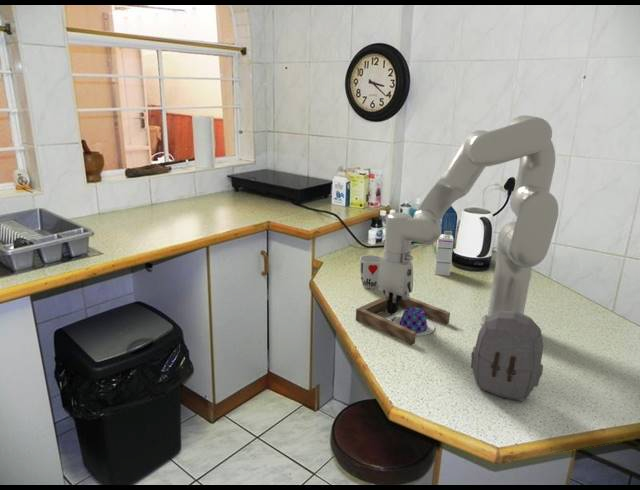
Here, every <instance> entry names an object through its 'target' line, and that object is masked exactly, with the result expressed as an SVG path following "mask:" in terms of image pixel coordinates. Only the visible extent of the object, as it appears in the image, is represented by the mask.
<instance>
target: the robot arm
mask: <svg viewBox="0 0 640 490" xmlns="http://www.w3.org/2000/svg"><path fill="white" fill-rule="evenodd" d="M552 137H553V129H552V127H551V125H550V123H549V122H548V121H547V120H546V119H544V118H542V117H539V116H532V115H528V114H527V115H525V114H523V115H519V116H516V117H514V118H513V119H511V120H510V122H508V125H507V126H504V127H503V126H502V127H500V128H496V129H494V130H493V129H492V130H488V131H487V130H482V129H480V130H479V129H478V130H475V131H473V132H471V133H469V134H468V136H466V138H465V139H464V141H462V143H461V145H460V146H459V148H458V150H457V151H456V153H455V155H454V156H453V157H452V160H451V161H450V162H449V164H448V165H447V167H446V168H445V170H444V172H443V174H441V176H440V178H439V179H438V180H437V181H436V183H435V184H434V185H433V186H432V188H431V189H430V190H429V192H428V193H427V194H426V195H425V197H424V198H423V200H422V202H421V203H420V205H419V207H418V208H417V210H416V211H415V213H414V215H413V216H412V215H410V214H409V213H406V212H392V213H388V215H387V216H386V222H385V231H384V232H385V233H384V247H383V248H384V249H383V257H382V260H381V263H380V267H379V273H378V285H377V287H378V290H379V291H380V292H381V293H383V295H384V297H385V296H386V300H387V310H386V314H389V315H391V316H392V315H394V314H396V313H398V311H399V306H398V303H399V301H400V300H408V299H409V298H411V297H410V293H413V287H414V268H413V262H412V261H413V260H414V256H413V255H411V248H412V247H411V246H412V242H414V243H419V244H425V245H430V244H433V243H434V242H436V241H437V240H438V239H439V238H440V236H441V227H440V224H439V221H440V220H441V218H442V217H443V215H444V214H445V212H446V211H447V209H448V208H449V207H450V206H451V205H452V206H453V204H454V202H456V201H457V200H459V199H462V198H463V197H465V196H466V195H468V194H469V192H470V191H471V189H472V188H473V187H474V185H475V183H476V182H477V180H478V179H479V177H480V176H481V175H482V173H483V171H484V170H485V169H486V168H487V167H492V166H497V165H500V164H501V165H502V164H505V163H508V162H511V161H514V160H517V159H519V166H518V172H517V176H516V180H515V184H514V188H513V192H512V194H511V195H512V196H511V198H510V209H511V211H512V213H513V214H514V215H515V216H516V220H515V221H510V222H508V223H507V224H504V226H503V227H502V228H501V229H500V231H499V232H498V235H497V242H496V260H495V267H494V274H493V278H492V287H491V292H490V293H491V294H490V300H489V306H488V311H487V312H488V313H487V314H484V315H483V316H482V317H481V320H480V321H481V322H480V323H481V326H483V324H484V322H485V319H486V318H487V317H489V316H491V315H494V314H496V313H498V312H500V311H517V312H519V313H522V314H524V315H526V316H528V315H527V314H525V308H526V305H527V303H526V302H527V296H528V293H529V286H530V281H531V277H532V272H533V271H532V270H533V267H537V265H539V264H540V263H542V261H544V260H545V258H546V256H547V254H548V251H549V249H550V245H551V242H552V239H553V236H554V233H555V229H556V226H557V221H558V218H559V211H560V210H559V204H558V200H557V198H556V197H555V196H554V195H553V194H552V193H551V192H550V190H551V186H552V181H553V175H554V172H555V167H556V151H555V146H554V144H553V141H552Z"/></svg>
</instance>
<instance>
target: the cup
mask: <svg viewBox="0 0 640 490" xmlns="http://www.w3.org/2000/svg"><path fill="white" fill-rule="evenodd" d="M381 260H382V257H381V256H379V255H373V254H367V255H366V254H365V255H362V256H360V257H359V272H360V280H361V283H362V287H363V288H366V289H376V288H377V287H378V273H379V267H380V263H381Z"/></svg>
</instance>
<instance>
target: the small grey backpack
mask: <svg viewBox="0 0 640 490" xmlns="http://www.w3.org/2000/svg"><path fill="white" fill-rule="evenodd" d="M526 315H527V314H525V313H524V314H522V313H519V312H517V311H500V312H498V313H496V314H494V315H491V316H489V317H487V318H486V319H485V322H484V324H483V325H481V327H480V329H479V331H478V334H477V339H476V343H475V346H473V348H472V350H471V354H470V356H471V357H470V368H471V369H472V373H473V376H474V379H475V384H476V385H477V386H478V387H479V388H481V389H482V390H483V391H486V392H489V393H491V394H493V395H496V396H498V397H502V398H507V399H510V400H516V401H517V400H518V401H524V400H527V398H528V397H529V396H530V395H531V393H532V391H533V390H534V389H535V388H536V387H538V386H539V382H540V380H541V377H542V376H543V372H544V371H543V370H544V365H543V364H542V359H543V352H544V351H543V350H544V346H545V345H544V341H543V337H542V329H541V327H540V326H539V325H538V324H537V323H536V322H535V321H534V320H533V319H532V318H531V316H528V315H527V316H526Z"/></svg>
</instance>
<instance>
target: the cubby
mask: <svg viewBox="0 0 640 490" xmlns="http://www.w3.org/2000/svg"><path fill="white" fill-rule="evenodd" d="M398 307H401V308H404V310H406V309H407V308H410V307H411V308H412V307H416V308H420V309H422V310H423V311H424V312H425V315H426V318H427V319H430V320H433V321H434V322H438V323H441V324H443V325H449V324H450V318H451V312H450V311H447V310H444V309H442V308H440V307H436V306H434V305H431V304H429V303H426V302H423V301H421V300H418V299H415V298H413V297H410V298H409V299H408V300H400V301H399V303H398ZM355 311H356V312H355V321H358V322H360V323H362V324H364V325H367V326H368V327H371V328H373V329H376V330H377V331H379V332H382V333H384V334H386V335H389V336H390V337H393V338H395V339H397V340H399V341H401V342H403V343H406V344H408V345H410V346H413V345H415V344H416V336H417V335H416V332H415V331H413V330H411V329H408V328H406V327H404V326H401V325H399V324H397V323H394V322H393V320H389V319H387V318H385V317H383V316H381V315H378V314H381V313H383V312H385V311H387V300H386V296H385V295H384V296H383V297H381V298H378V299H376V300H374V301H372V302H369V303H367V304H364V305H361V306H360V307H358V308H356V310H355Z"/></svg>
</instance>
